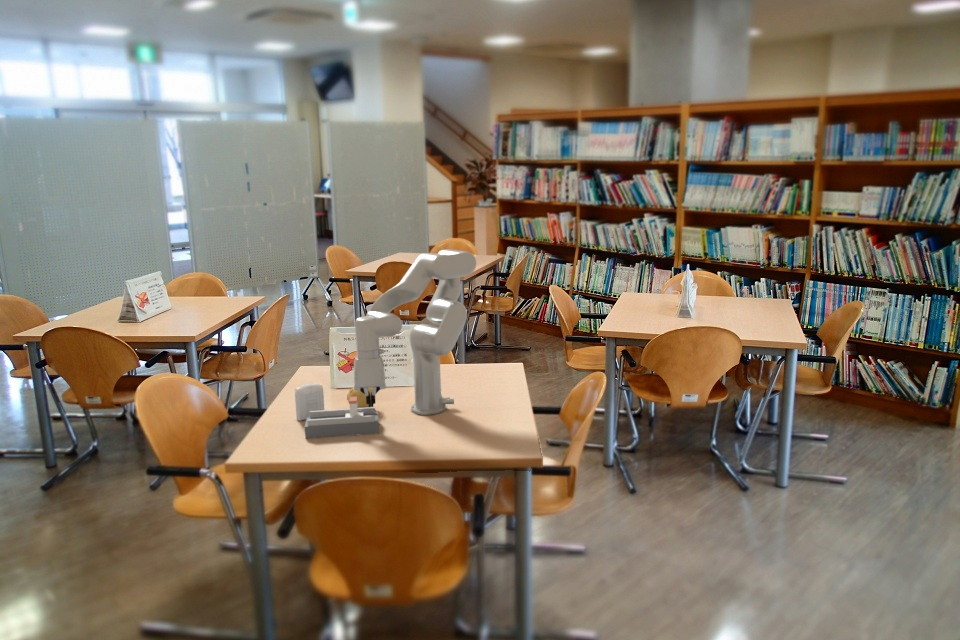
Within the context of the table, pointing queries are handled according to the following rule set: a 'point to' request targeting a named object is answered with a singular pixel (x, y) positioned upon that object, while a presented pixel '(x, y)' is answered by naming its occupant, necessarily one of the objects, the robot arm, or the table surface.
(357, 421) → the gray slider track
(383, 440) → the table surface
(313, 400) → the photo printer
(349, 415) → the knob
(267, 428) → the table surface
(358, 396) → the stress ball
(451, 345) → the robot arm
